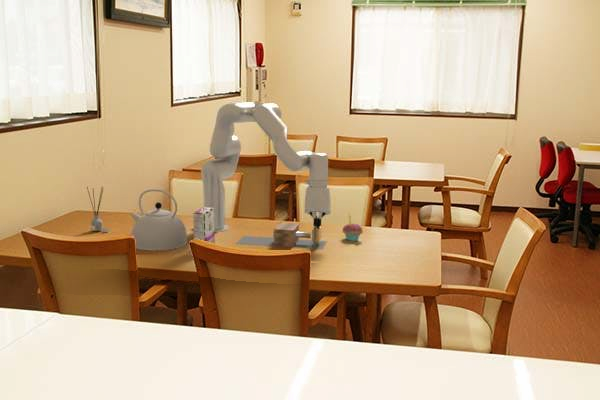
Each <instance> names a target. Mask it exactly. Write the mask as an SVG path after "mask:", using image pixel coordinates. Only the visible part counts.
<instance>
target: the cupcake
mask: <svg viewBox="0 0 600 400" xmlns="http://www.w3.org/2000/svg"><path fill="white" fill-rule="evenodd" d="M348 220H349V221H348V224H346V225H344V226H343V227H342V233H344V236H345V239H346V240H347V241H353V242H355V241H356V242H358V241H359V238H360V236H361V234H363V232H364V230H363V227H361V226H360V225H359V224H356V223H352V219H351V214H348Z"/></svg>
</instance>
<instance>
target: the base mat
mask: <svg viewBox="0 0 600 400" xmlns="http://www.w3.org/2000/svg"><path fill="white" fill-rule="evenodd" d="M327 243H328V241H327V240H320V242H316V248H313V242H312V239H301V238H299V240H298V241H297V243H296V244H295V246H294V247H291V248H294V249H295V248H296V249H307V250H308V249H310V250H324V248H325V246H326V244H327ZM235 245H252V246H264V247H268V246H269V247H275V246H274V238H273V237H270V236H269V237H267V236H252V235H243V236H242V237H241V238H240V239H239V240H237V242H236V243H235ZM276 247H280V248H285V247H284V246H276Z"/></svg>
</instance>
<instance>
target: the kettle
mask: <svg viewBox="0 0 600 400" xmlns="http://www.w3.org/2000/svg"><path fill="white" fill-rule="evenodd" d="M148 192H149V193H150V192H159V193H164V194H167V195H168V196H169V197H171V199H172V200H173V203H174V212H172V211H170V210H167V209H161V208H162V207H163V206H162V203H161V202H156V203H155V204H154V207H155V208H156V209H152V210H148V211H146V212H144V210H143V208H142V198H143V196H144V195H145V194H147V193H148ZM138 207H139V209H140V212H141V214H142V215H141V216H140V215H139V214H138V213H136V212H134V213H133V212H132V214H130V217H132V219H133V220H134V221H135V223H134V225H133V227H132V229H131V234H130V235H133V236H134V237H135V239H136V248H135V249H137V250H142V251H153V252H154V251H156V250H158V251H169V250H175V248H176V249H179V247H180V248H182V247H185V246H186V245H187V244H188V235H187V229H186V226H185V224H184V222H183V221H182V220H181V219H180V217H178V216H177V212H178V203H177V200H176V199H175V197H174V195H172V194H171V193H170V192H169V191H166V190H164V189H158V188H157V189H156V188H155V189H154V188H153V189H152V188H151V189H150V188H149V189H146V190H144V191H143V192H142V193H141V194H140V195H139V198H138ZM184 245H185V246H184ZM156 252H157V251H156Z"/></svg>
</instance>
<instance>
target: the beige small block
mask: <svg viewBox="0 0 600 400" xmlns="http://www.w3.org/2000/svg"><path fill="white" fill-rule="evenodd" d="M322 233H323V225H321V226H320V227H319V229H318V228H317V232H316V242H319V241H321V239H322V237H323V235H322ZM311 240H312V242H313V241H314V226H313V227H312V229H311Z"/></svg>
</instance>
